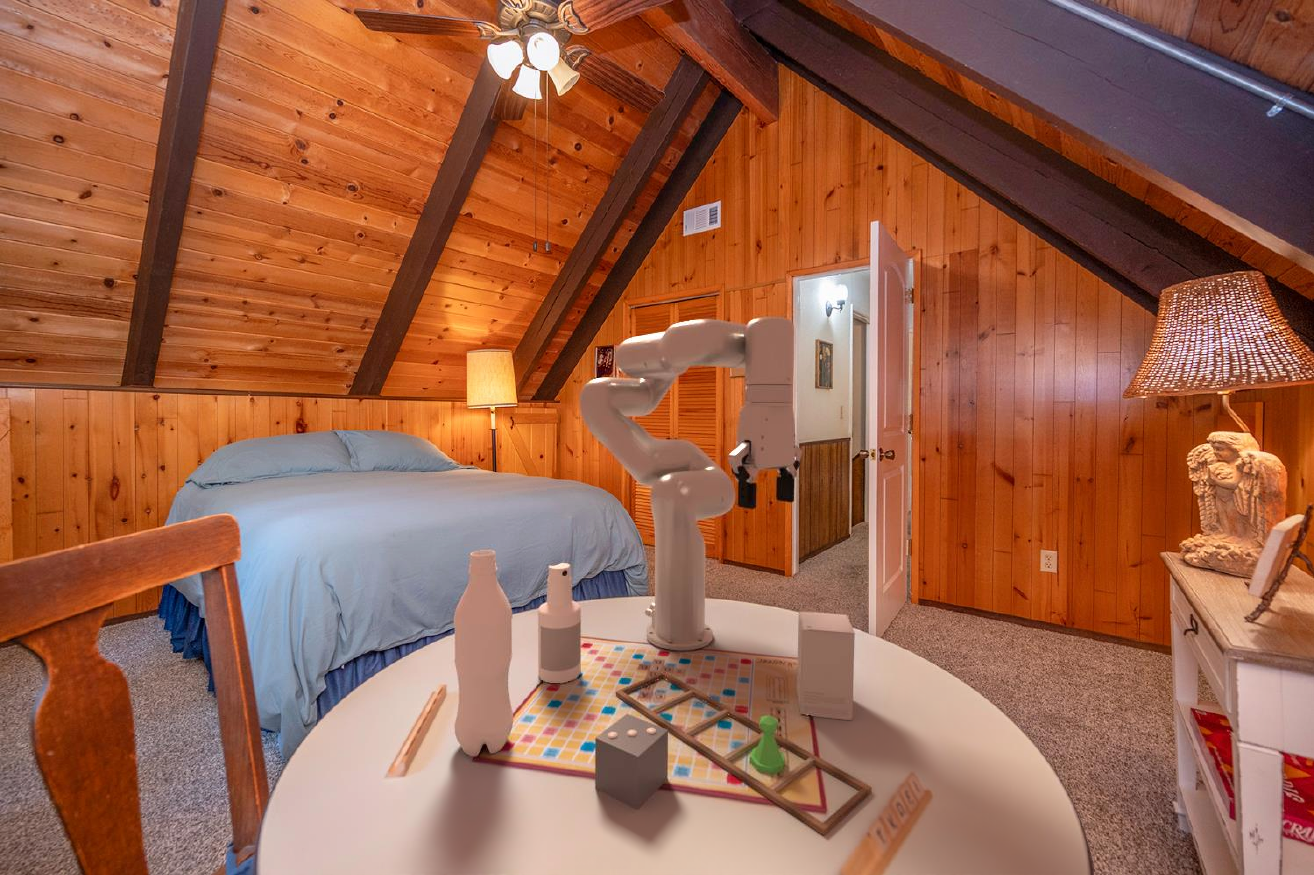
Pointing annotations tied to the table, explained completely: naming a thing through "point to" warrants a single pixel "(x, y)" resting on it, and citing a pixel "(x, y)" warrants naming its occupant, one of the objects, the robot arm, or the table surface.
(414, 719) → the table surface
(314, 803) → the table surface
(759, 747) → the game piece
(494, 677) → the water bottle
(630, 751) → the die
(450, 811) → the table surface
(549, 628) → the spray bottle
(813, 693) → the supplement box
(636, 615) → the table surface
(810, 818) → the track board
